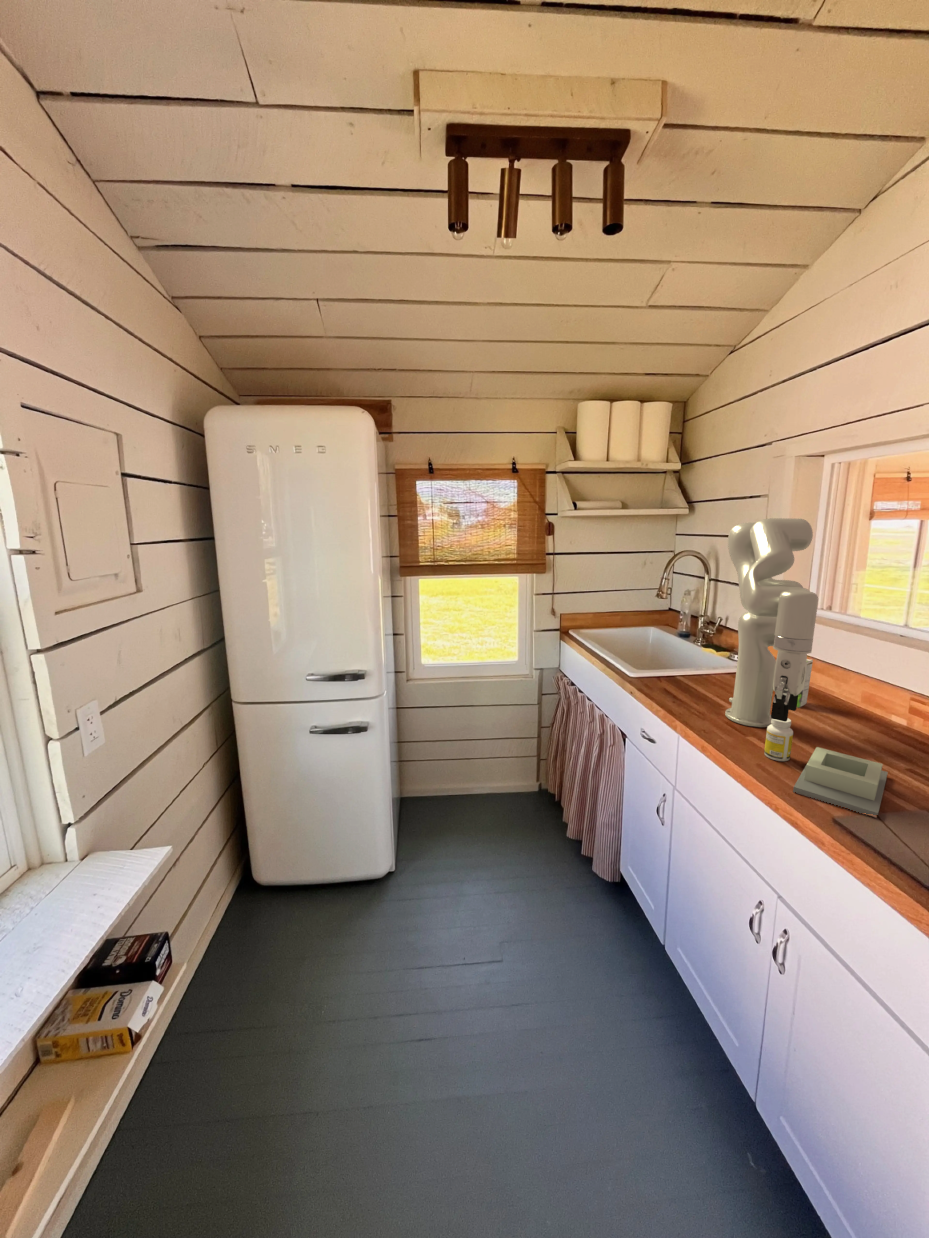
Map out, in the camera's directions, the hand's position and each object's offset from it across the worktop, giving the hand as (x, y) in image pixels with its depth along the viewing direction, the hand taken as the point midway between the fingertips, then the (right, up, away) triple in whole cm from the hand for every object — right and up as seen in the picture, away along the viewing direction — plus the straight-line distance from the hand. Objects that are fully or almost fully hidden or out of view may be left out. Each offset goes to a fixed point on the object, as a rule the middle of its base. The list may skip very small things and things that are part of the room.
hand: (783, 714), depth 120 cm
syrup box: (+27, -4, +38) cm, 47 cm away
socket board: (+7, -13, -9) cm, 18 cm away
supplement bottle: (0, -11, +3) cm, 11 cm away
